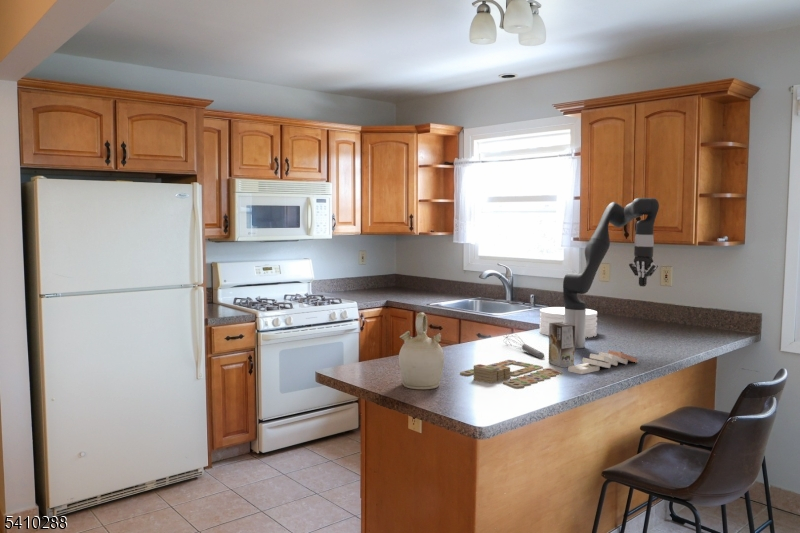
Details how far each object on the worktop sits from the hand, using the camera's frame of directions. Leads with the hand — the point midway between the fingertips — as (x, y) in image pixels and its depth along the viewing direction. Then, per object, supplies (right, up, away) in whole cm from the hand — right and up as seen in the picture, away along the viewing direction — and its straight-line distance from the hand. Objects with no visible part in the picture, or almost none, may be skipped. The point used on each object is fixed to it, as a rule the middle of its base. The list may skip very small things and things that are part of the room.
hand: (642, 286), depth 271 cm
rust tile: (-10, -29, -14) cm, 34 cm away
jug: (-96, -32, -54) cm, 115 cm away
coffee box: (-40, -30, -20) cm, 54 cm away
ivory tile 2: (-20, -29, -20) cm, 41 cm away
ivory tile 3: (-24, -30, -24) cm, 45 cm away
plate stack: (-18, -26, +52) cm, 61 cm away
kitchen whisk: (-49, -29, +5) cm, 57 cm away
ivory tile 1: (-15, -29, -17) cm, 37 cm away
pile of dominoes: (-61, -32, -36) cm, 78 cm away
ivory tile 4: (-29, -30, -27) cm, 50 cm away
